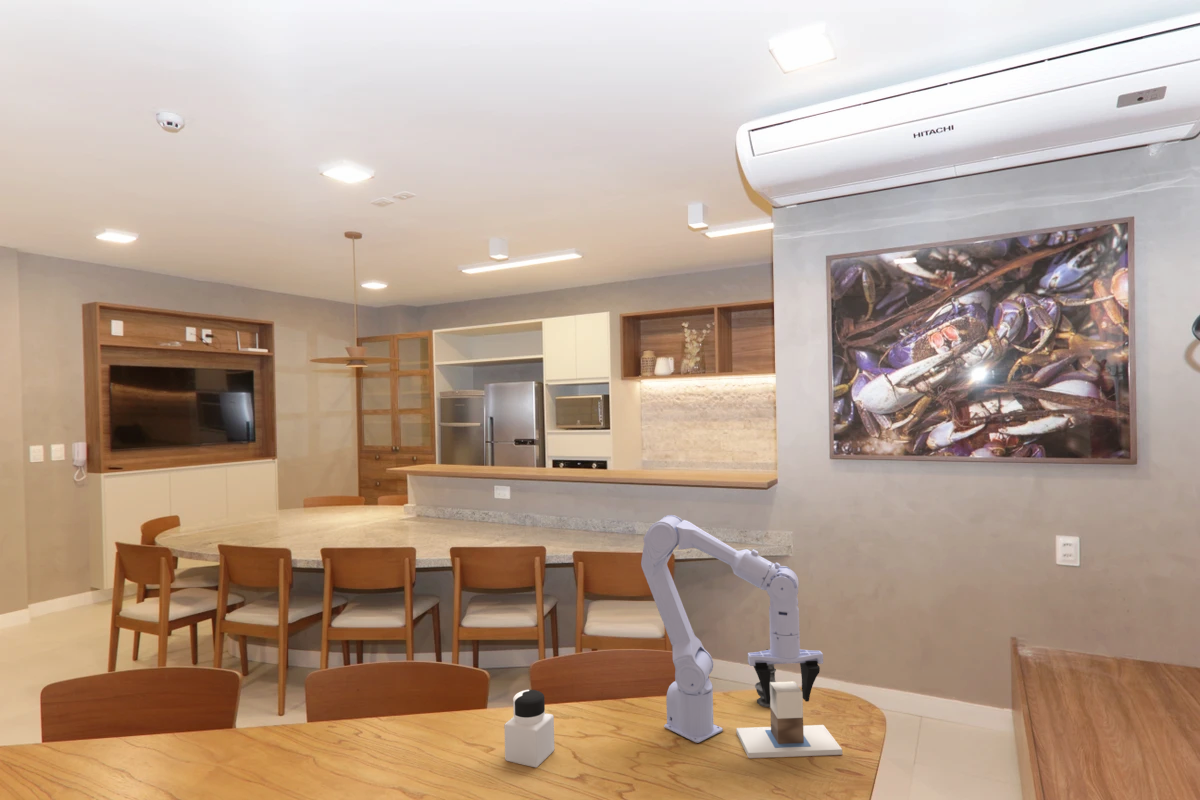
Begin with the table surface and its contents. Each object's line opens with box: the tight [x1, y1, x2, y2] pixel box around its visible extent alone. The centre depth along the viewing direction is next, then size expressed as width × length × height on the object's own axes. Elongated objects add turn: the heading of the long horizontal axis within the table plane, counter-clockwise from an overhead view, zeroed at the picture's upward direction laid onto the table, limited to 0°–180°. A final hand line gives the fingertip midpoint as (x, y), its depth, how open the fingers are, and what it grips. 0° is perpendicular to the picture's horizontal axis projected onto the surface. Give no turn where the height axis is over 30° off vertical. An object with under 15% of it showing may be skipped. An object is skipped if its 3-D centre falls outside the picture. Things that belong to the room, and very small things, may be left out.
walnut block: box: [769, 707, 804, 744], centre depth 134 cm, size 5×5×5 cm
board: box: [735, 724, 843, 759], centre depth 133 cm, size 18×10×1 cm, turn 92°
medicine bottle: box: [504, 689, 555, 769], centre depth 131 cm, size 7×7×12 cm
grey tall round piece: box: [754, 648, 777, 709], centre depth 152 cm, size 6×6×12 cm
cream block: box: [770, 680, 804, 719], centre depth 133 cm, size 5×5×5 cm
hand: (786, 700), depth 133 cm, fingers open, 7 cm apart
